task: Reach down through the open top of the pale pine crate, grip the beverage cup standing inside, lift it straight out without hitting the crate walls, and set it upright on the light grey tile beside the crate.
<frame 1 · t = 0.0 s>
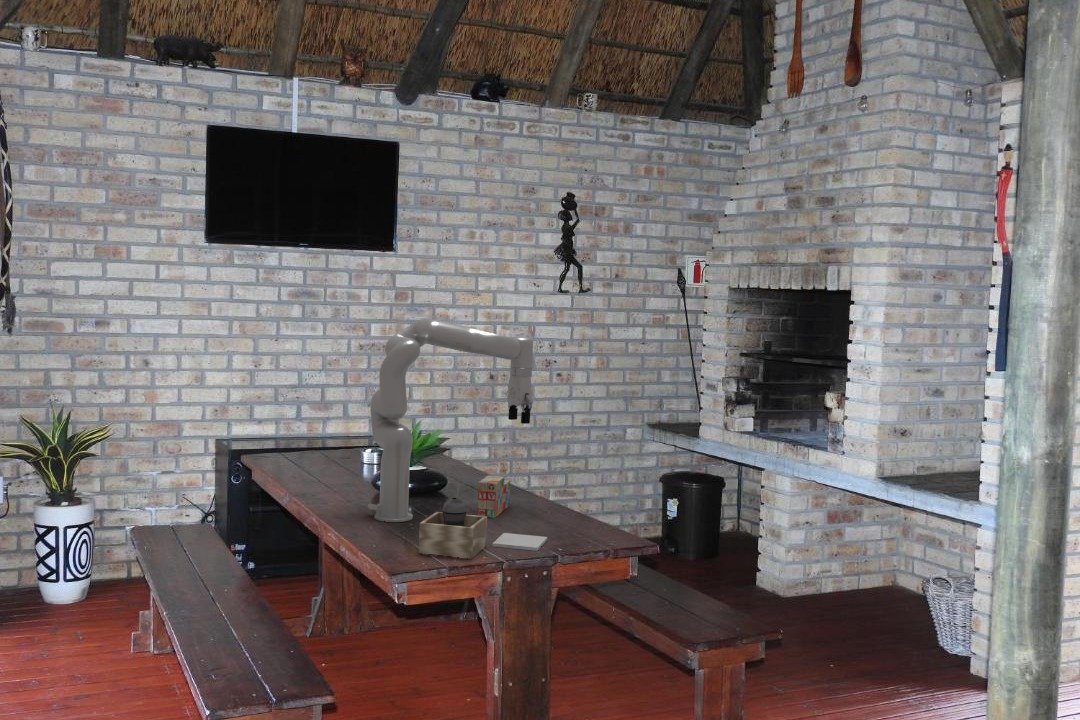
hand: (518, 421, 377), 31 cm above the table, tool pointing down, fingers open, 9 cm apart
stack of blocks: (493, 512, 376), on the table
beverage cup: (452, 550, 322), resting in crate
tile: (520, 543, 333), on the table
crate: (452, 549, 322), on the table
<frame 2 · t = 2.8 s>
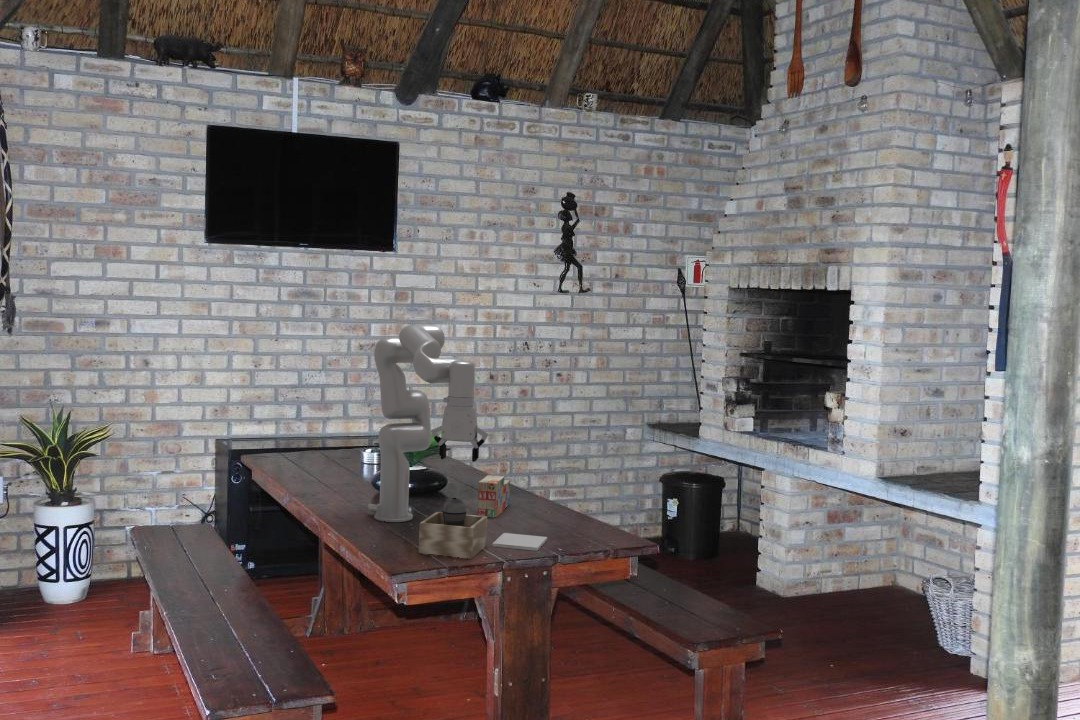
hand: (458, 459, 321), 27 cm above the table, tool pointing down, fingers open, 9 cm apart
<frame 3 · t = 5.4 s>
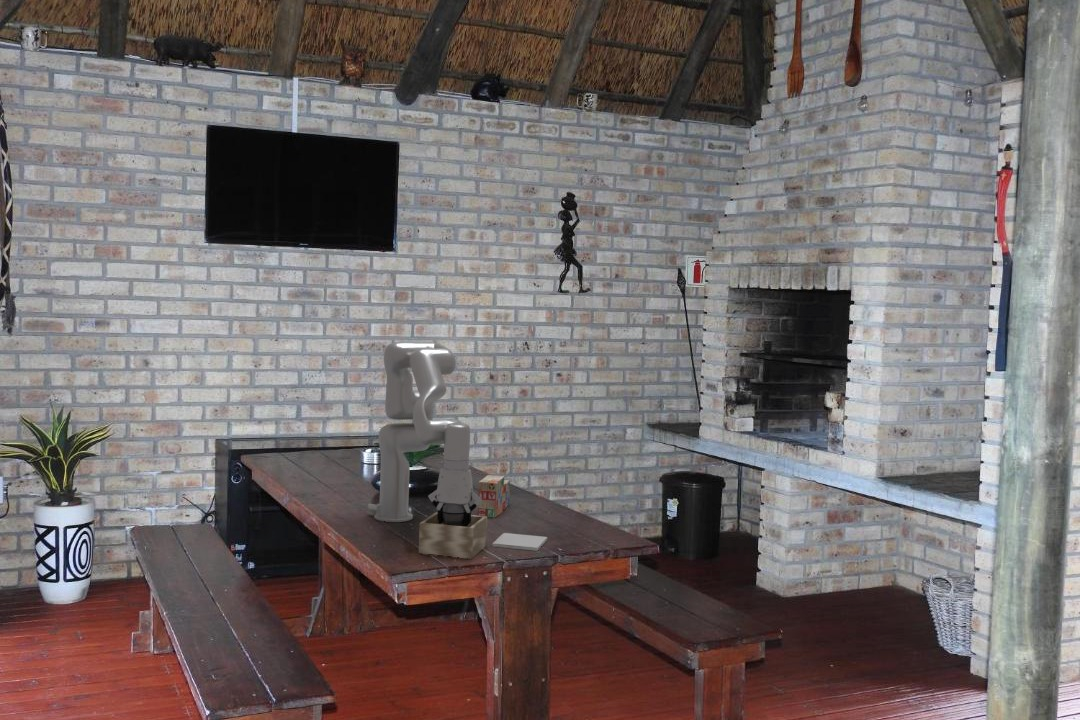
hand: (454, 523, 321), 8 cm above the table, tool pointing down, fingers closed on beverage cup, 7 cm apart
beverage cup: (452, 550, 322), resting in crate, touching gripper
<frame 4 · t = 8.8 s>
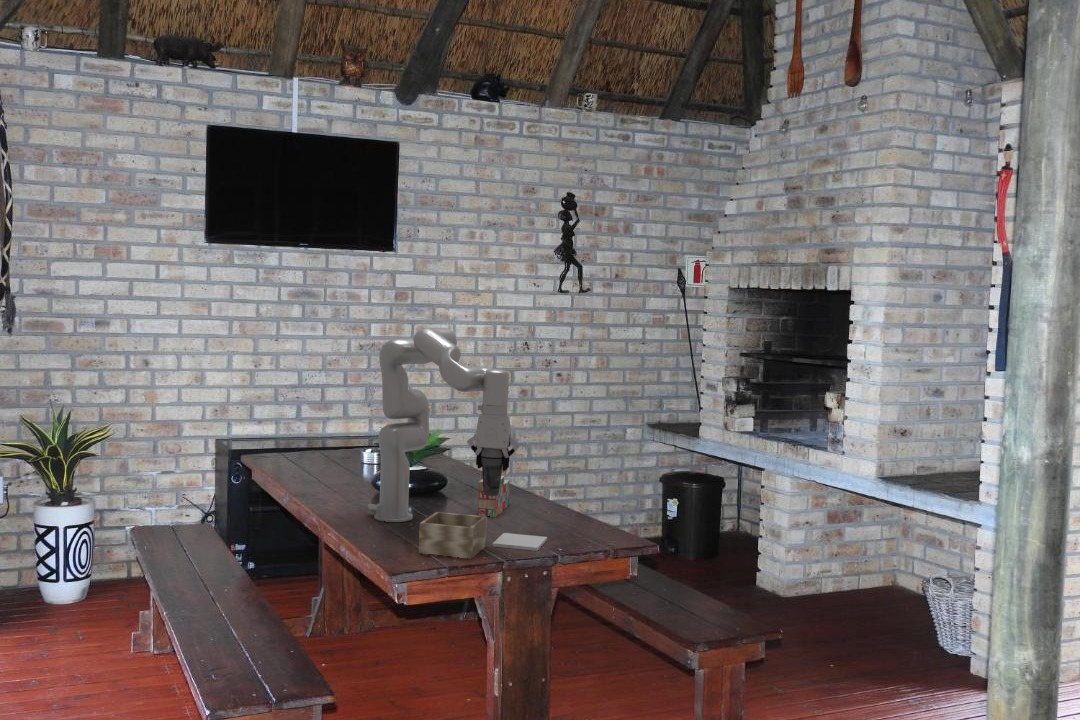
hand: (492, 468, 326), 24 cm above the table, tool pointing down, fingers closed on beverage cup, 7 cm apart
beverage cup: (491, 495, 326), point 16 cm above the table, touching gripper
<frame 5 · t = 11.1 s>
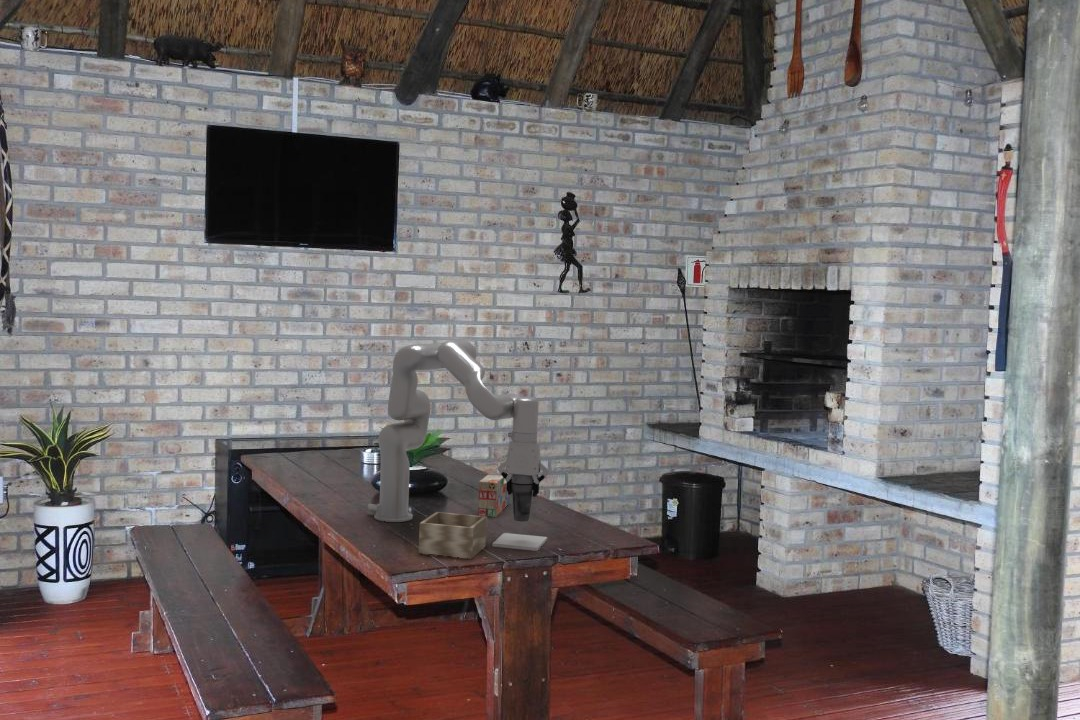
hand: (522, 494, 332), 15 cm above the table, tool pointing down, fingers closed on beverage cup, 7 cm apart
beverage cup: (521, 520, 332), point 7 cm above the table, touching gripper
when the fingers open (10 cm above the table, at t = 12.7 s): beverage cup drops 1 cm, resting on tile.
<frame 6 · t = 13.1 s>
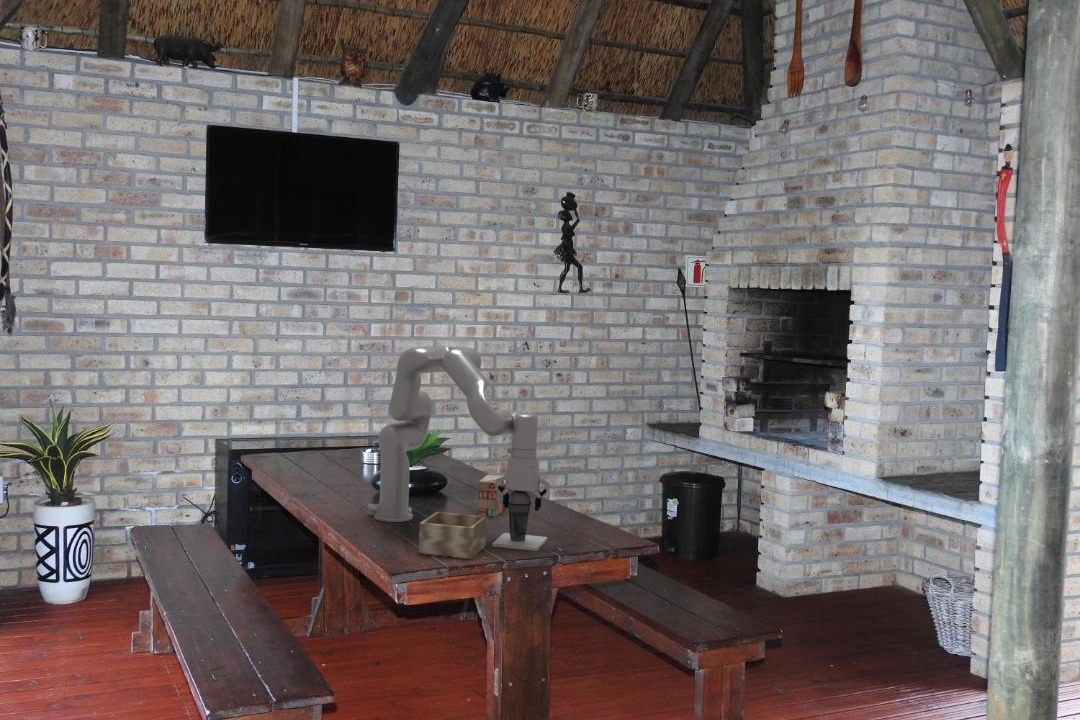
hand: (521, 508, 332), 11 cm above the table, tool pointing down, fingers open, 9 cm apart
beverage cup: (517, 540, 333), point 1 cm above the table, touching tile
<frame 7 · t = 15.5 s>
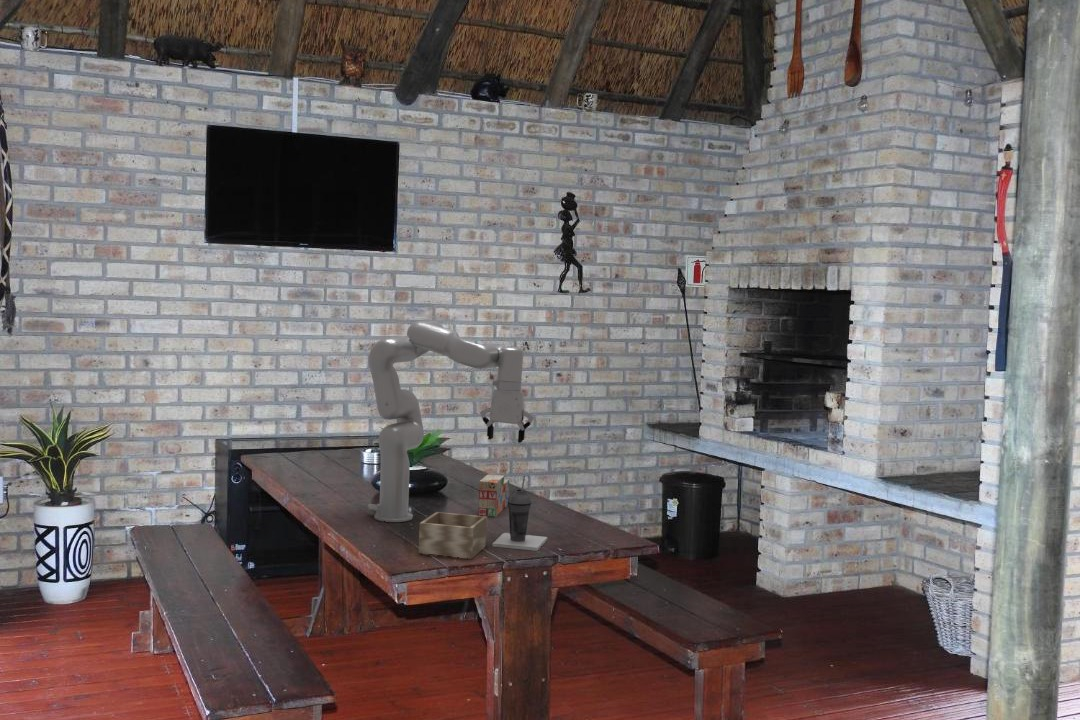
hand: (505, 440, 339), 30 cm above the table, tool pointing down, fingers open, 9 cm apart
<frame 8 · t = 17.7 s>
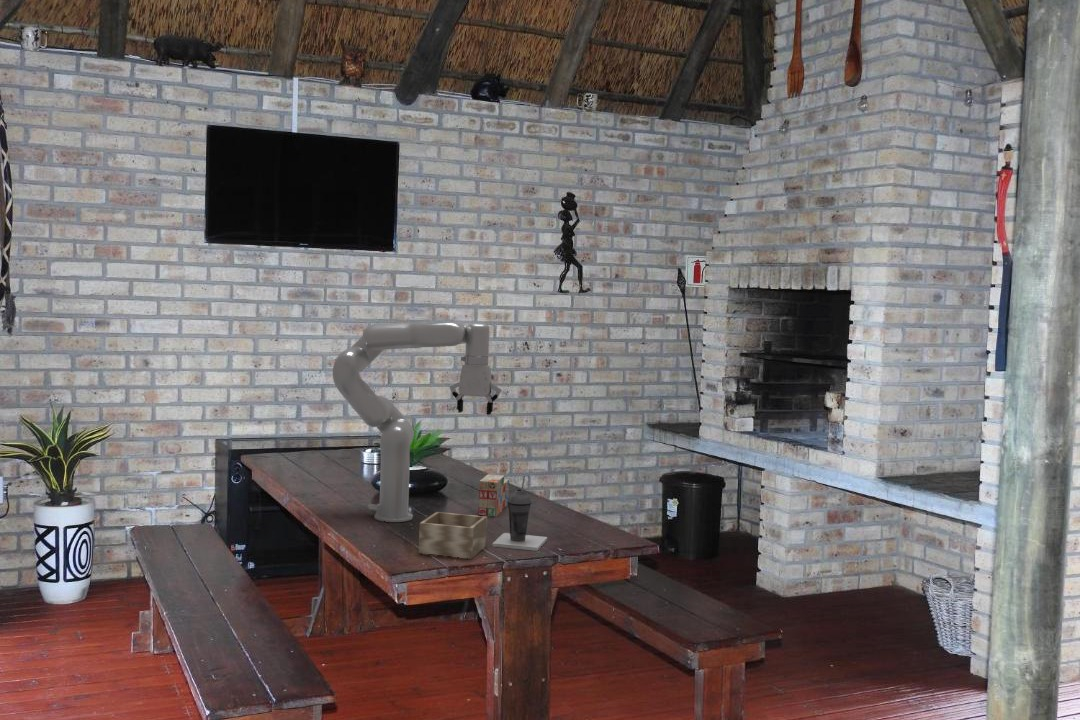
hand: (474, 413, 355), 36 cm above the table, tool pointing down, fingers open, 9 cm apart
at the end: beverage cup inside the target area on the tile (0.8 cm from its centre), point 0.8 cm above the tile's base; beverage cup tilted 0°; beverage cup touching tile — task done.
